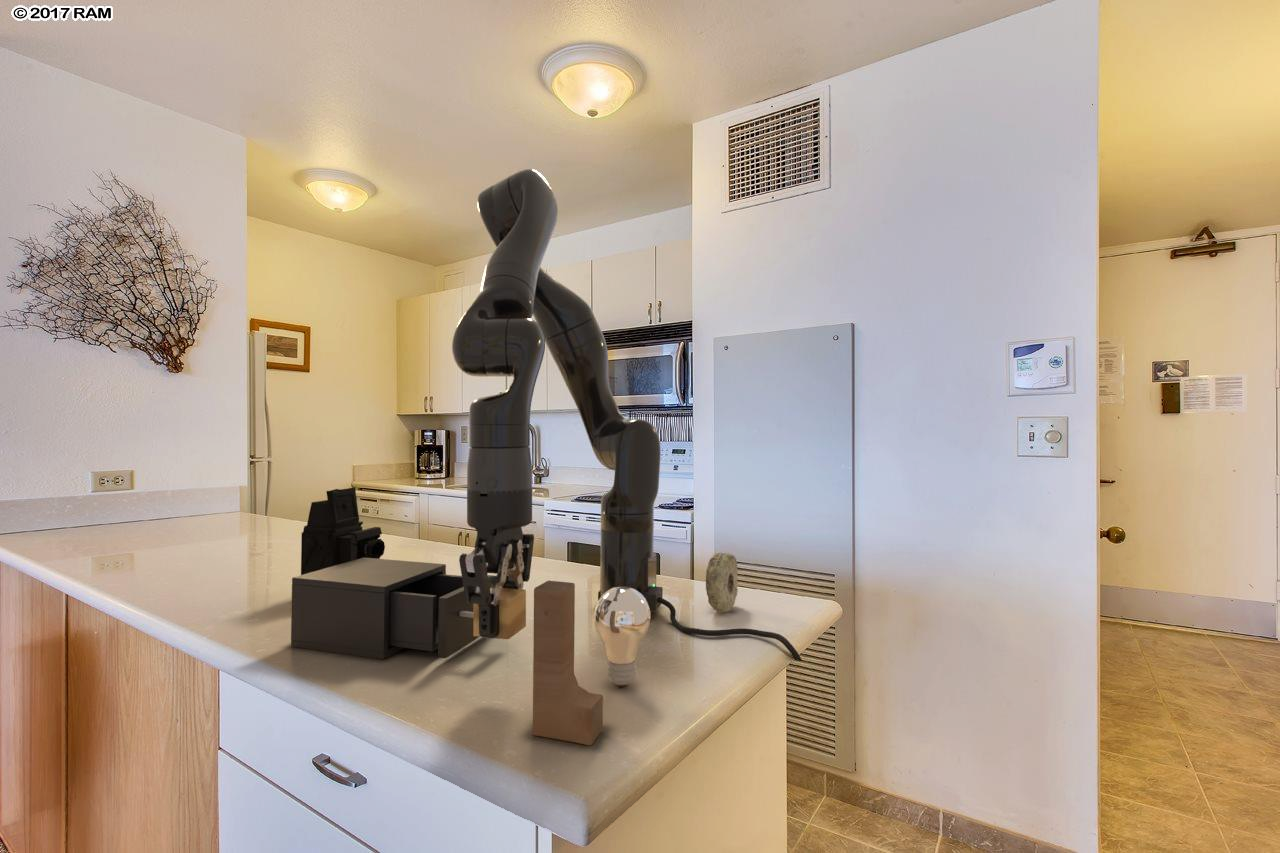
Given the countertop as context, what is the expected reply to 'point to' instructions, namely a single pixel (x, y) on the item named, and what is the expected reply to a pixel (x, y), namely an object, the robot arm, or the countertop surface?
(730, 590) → the stone ring
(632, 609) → the light bulb
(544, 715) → the wooden block
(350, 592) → the dark drawer cabinet
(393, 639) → the pull-out drawer
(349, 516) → the camera
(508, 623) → the cube
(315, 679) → the countertop surface
